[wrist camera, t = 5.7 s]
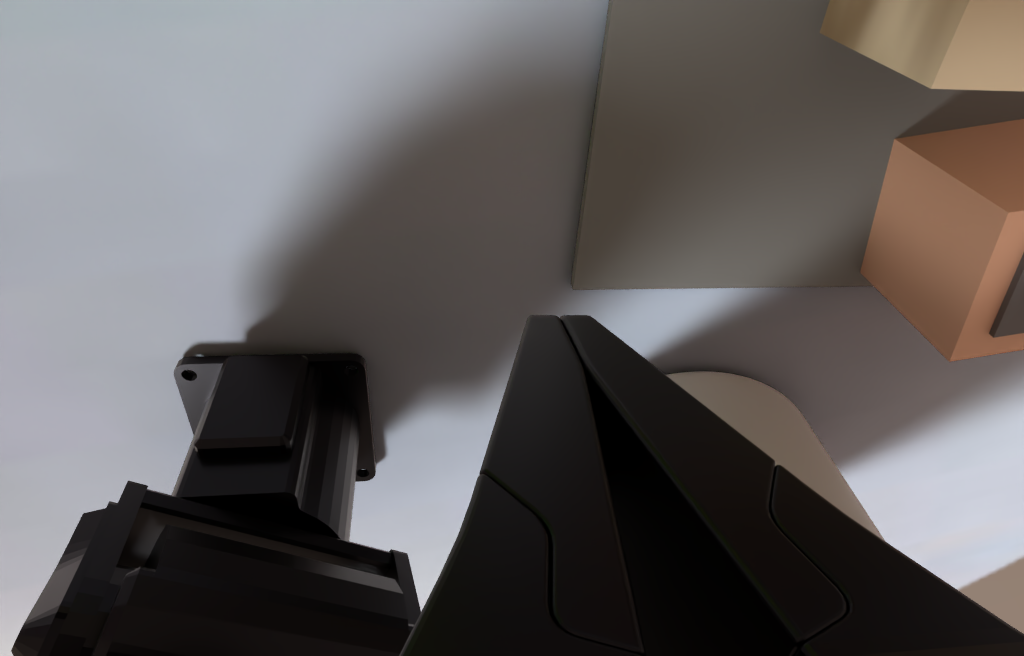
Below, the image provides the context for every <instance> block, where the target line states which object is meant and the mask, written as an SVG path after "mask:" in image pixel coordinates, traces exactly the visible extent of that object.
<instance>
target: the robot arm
mask: <svg viewBox="0 0 1024 656" xmlns="http://www.w3.org/2000/svg"><path fill="white" fill-rule="evenodd" d="M347 366H355V367H356V369H349V368H347ZM186 370H192V371H194V372H195V373H190V372H188V371H186ZM174 377H175V380H176V383H177V386H178V389H179V392H180V395H181V398H182V401H183V404H184V407H185V410H186V413H187V416H188V419H189V422H190V425H191V428H192V431H193V434H194V437H193V440H192V442H191V445H190V448H189V450H188V453H187V456H186V458H185V461H184V464H183V466H182V469H181V471H180V474H179V477H178V479H177V482H176V485H175V487H174V490H173V493H172V495H168V494H164V493H160V492H156V491H152V490H149V489H147V487H148V486H147V485H143V484H139V483H135V482H131V481H128V482H127V484H126V487H125V489H124V491H123V493H122V495H121V498H120V500H119V502H118V503H114V502H110V501H109V503H108V506H107V508H105V509H101V510H96V511H92V512H88V513H84V514H83V515H82V517H81V519H80V521H79V523H78V525H77V527H76V529H75V531H74V533H73V535H72V537H71V539H70V541H69V543H68V545H67V547H66V549H65V551H64V553H63V555H62V557H61V559H60V561H59V563H58V565H57V567H56V569H55V571H54V572H53V574H52V576H51V578H50V579H49V581H48V583H47V585H46V586H45V588H44V590H43V592H42V593H41V595H40V597H39V599H38V600H37V602H36V604H35V605H34V607H33V609H32V611H31V612H30V614H29V616H28V618H27V619H26V621H25V623H24V625H23V627H22V629H21V631H20V633H19V635H18V637H17V639H16V641H15V643H14V646H13V648H12V650H11V652H12V654H13V656H1024V634H1023V633H1021V632H1020V631H1018V630H1017V629H1015V628H1013V627H1012V626H1010V625H1009V624H1007V623H1006V622H1004V621H1003V620H1001V619H1000V618H998V617H997V616H995V615H994V614H992V613H991V612H989V611H988V610H986V609H985V608H983V607H982V606H980V605H979V604H977V603H976V602H974V601H973V600H971V599H970V598H968V597H967V596H965V595H964V594H962V593H961V592H960V591H958V590H957V589H955V588H954V587H952V586H951V585H949V584H948V583H946V582H945V581H943V580H942V579H940V578H939V577H937V576H936V575H934V574H933V573H931V572H930V571H928V570H927V569H925V568H924V567H922V566H921V565H919V564H918V563H916V562H915V561H913V560H912V559H910V558H909V557H907V556H906V555H904V554H903V553H901V552H900V551H898V550H897V549H895V548H894V547H892V546H891V545H890V544H888V543H887V542H885V541H884V540H882V539H881V538H879V537H878V536H877V535H875V534H874V533H872V532H871V531H869V530H868V529H866V528H865V527H864V526H862V525H861V524H859V523H858V522H856V521H855V520H854V519H852V518H851V517H849V516H848V515H846V514H845V513H844V512H842V511H841V510H840V509H838V508H837V507H836V506H834V505H833V504H832V503H830V502H829V501H828V500H826V499H825V498H824V497H822V496H821V495H820V494H818V493H817V492H816V491H814V490H813V489H812V488H810V487H809V486H808V485H806V484H805V483H804V482H802V481H801V480H800V479H799V478H797V477H796V476H795V475H793V474H792V473H791V472H790V471H788V470H787V469H786V468H784V467H783V466H782V465H776V462H775V460H774V459H773V458H771V457H770V456H769V455H768V454H766V453H765V452H764V451H762V450H761V449H760V448H759V447H757V446H756V445H755V444H753V443H752V442H751V441H750V440H748V439H747V438H746V437H744V436H743V435H742V434H741V433H739V432H738V431H737V430H736V429H734V428H733V427H732V426H730V425H729V424H728V423H727V422H725V421H724V420H723V419H721V418H720V417H719V416H718V415H716V414H715V413H714V412H713V411H711V410H710V409H709V408H707V407H706V406H705V405H704V404H702V403H701V402H700V401H698V400H697V399H696V398H695V397H693V396H692V395H691V394H689V393H688V392H687V391H686V390H684V389H683V388H682V387H681V386H679V385H678V384H677V383H675V382H674V381H673V380H672V379H670V378H669V377H668V376H666V375H665V374H664V373H663V372H661V371H660V370H659V369H658V368H656V367H655V366H654V365H652V364H651V363H650V362H649V361H647V360H646V359H645V358H643V357H642V356H641V355H640V354H638V353H637V352H636V351H634V350H633V349H632V348H631V347H629V346H628V345H627V344H626V343H624V342H623V341H622V340H620V339H619V338H618V337H617V336H615V335H614V334H613V333H611V332H610V331H609V330H608V329H606V328H605V327H604V326H603V325H601V324H600V323H599V322H597V321H596V320H595V319H594V318H592V317H590V316H587V315H564V316H562V317H560V319H559V317H557V316H555V315H531V316H529V317H528V319H527V321H526V325H525V328H524V331H523V334H522V338H521V341H520V344H519V347H518V350H517V354H516V357H515V360H514V363H513V367H512V370H511V373H510V376H509V380H508V383H507V386H506V389H505V392H504V396H503V399H502V402H501V405H500V409H499V412H498V415H497V418H496V422H495V425H494V428H493V431H492V435H491V438H490V441H489V444H488V447H487V451H486V454H485V457H484V460H483V464H482V467H481V470H480V476H479V477H478V479H477V482H476V485H475V488H474V491H473V495H472V498H471V501H470V504H469V507H468V509H467V512H466V515H465V518H464V521H463V523H462V526H461V529H460V532H459V534H458V537H457V539H456V541H455V543H454V545H453V548H452V550H451V552H450V554H449V556H448V559H447V561H446V563H445V565H444V567H443V570H442V572H441V574H440V576H439V578H438V580H437V582H436V584H435V586H434V588H433V590H432V592H431V594H430V596H429V598H428V600H427V602H426V604H425V606H424V608H423V610H422V612H421V611H420V606H419V602H418V598H417V593H416V589H415V585H414V580H413V576H412V572H411V567H410V563H409V559H408V555H407V553H403V552H399V551H396V550H390V551H389V552H388V551H384V550H380V549H376V548H372V547H369V546H365V545H361V544H357V543H353V542H349V538H350V528H351V519H352V509H353V499H354V489H355V482H356V481H368V480H370V479H372V478H373V477H374V476H375V472H376V460H375V449H374V439H373V429H372V419H371V408H370V398H369V388H368V378H367V367H366V362H365V359H364V358H363V357H362V356H360V355H358V354H354V353H337V354H294V355H251V356H208V357H186V358H183V359H181V360H179V362H178V364H177V366H176V368H175V370H174ZM775 465H776V466H775ZM362 469H365V470H362Z"/></svg>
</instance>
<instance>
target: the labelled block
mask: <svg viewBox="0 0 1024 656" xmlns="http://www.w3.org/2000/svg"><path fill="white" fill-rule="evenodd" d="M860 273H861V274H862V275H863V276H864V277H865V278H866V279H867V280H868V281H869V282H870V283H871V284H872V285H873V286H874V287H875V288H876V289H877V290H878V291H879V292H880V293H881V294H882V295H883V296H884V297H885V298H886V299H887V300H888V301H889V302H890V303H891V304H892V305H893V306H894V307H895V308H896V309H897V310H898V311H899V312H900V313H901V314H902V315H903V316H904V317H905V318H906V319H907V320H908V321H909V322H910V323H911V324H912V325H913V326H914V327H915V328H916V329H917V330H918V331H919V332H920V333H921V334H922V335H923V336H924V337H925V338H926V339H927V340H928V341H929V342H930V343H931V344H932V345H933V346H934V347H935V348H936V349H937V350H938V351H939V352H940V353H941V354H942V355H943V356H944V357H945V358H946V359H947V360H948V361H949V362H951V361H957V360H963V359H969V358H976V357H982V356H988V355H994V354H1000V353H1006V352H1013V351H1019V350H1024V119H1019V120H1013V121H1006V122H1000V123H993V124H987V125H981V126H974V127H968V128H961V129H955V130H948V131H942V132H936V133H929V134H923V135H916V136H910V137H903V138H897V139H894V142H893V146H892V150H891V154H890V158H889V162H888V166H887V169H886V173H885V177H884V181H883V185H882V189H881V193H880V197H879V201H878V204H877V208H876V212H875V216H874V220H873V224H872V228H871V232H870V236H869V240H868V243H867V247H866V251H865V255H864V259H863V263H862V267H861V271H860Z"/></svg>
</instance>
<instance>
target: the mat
mask: <svg viewBox="0 0 1024 656" xmlns="http://www.w3.org/2000/svg"><path fill="white" fill-rule="evenodd" d="M829 2H830V0H609V5H608V13H607V20H606V27H605V35H604V42H603V50H602V57H601V64H600V72H599V79H598V86H597V94H596V101H595V108H594V116H593V123H592V130H591V138H590V145H589V153H588V160H587V167H586V175H585V182H584V189H583V197H582V204H581V211H580V219H579V226H578V233H577V241H576V248H575V256H574V263H573V270H572V278H571V286H572V289H573V290H597V289H681V288H765V287H849V286H873V285H872V284H871V283H870V282H869V281H868V280H867V279H866V278H865V277H864V276H863V275H862V274H861V273H860V271H861V267H862V263H863V259H864V255H865V251H866V247H867V243H868V240H869V236H870V232H871V228H872V224H873V220H874V216H875V212H876V208H877V204H878V201H879V197H880V193H881V189H882V185H883V181H884V177H885V173H886V169H887V166H888V162H889V158H890V154H891V150H892V146H893V142H894V139H897V138H903V137H910V136H916V135H923V134H929V133H936V132H942V131H948V130H955V129H961V128H968V127H974V126H981V125H987V124H993V123H1000V122H1006V121H1013V120H1019V119H1024V91H990V90H956V89H930V88H928V87H926V86H924V85H922V84H920V83H918V82H916V81H914V80H912V79H910V78H908V77H906V76H904V75H902V74H900V73H898V72H896V71H894V70H892V69H890V68H888V67H886V66H884V65H882V64H880V63H878V62H876V61H874V60H872V59H870V58H868V57H866V56H864V55H862V54H860V53H858V52H856V51H855V50H853V49H851V48H849V47H847V46H845V45H843V44H841V43H839V42H837V41H835V40H833V39H831V38H829V37H827V36H825V35H823V34H821V33H820V30H821V27H822V23H823V20H824V17H825V14H826V11H827V8H828V5H829Z"/></svg>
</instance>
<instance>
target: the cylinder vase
mask: <svg viewBox="0 0 1024 656" xmlns="http://www.w3.org/2000/svg"><path fill="white" fill-rule="evenodd" d="M666 376H668V377H669V378H670V379H672V380H673V381H674V382H675V383H677V384H678V385H679V386H681V387H682V388H683V389H684V390H686V391H687V392H688V393H689V394H691V395H692V396H693V397H695V398H696V399H697V400H698V401H700V402H701V403H702V404H704V405H705V406H706V407H707V408H709V409H710V410H711V411H713V412H714V413H715V414H716V415H718V416H719V417H720V418H721V419H723V420H724V421H725V422H727V423H728V424H729V425H730V426H732V427H733V428H734V429H736V430H737V431H738V432H739V433H741V434H742V435H743V436H744V437H746V438H747V439H748V440H750V441H751V442H752V443H753V444H755V445H756V446H757V447H759V448H760V449H761V450H762V451H764V452H765V453H766V454H768V455H769V456H770V457H771V458H773V459H774V460H775V462H776V465H782V466H783V467H784V468H786V469H787V470H788V471H790V472H791V473H792V474H793V475H795V476H796V477H797V478H799V479H800V480H801V481H802V482H804V483H805V484H806V485H808V486H809V487H810V488H812V489H813V490H814V491H816V492H817V493H818V494H820V495H821V496H822V497H824V498H825V499H826V500H828V501H829V502H830V503H832V504H833V505H834V506H836V507H837V508H838V509H840V510H841V511H842V512H844V513H845V514H846V515H848V516H849V517H851V518H852V519H854V520H855V521H856V522H858V523H859V524H861V525H862V526H864V527H865V528H866V529H868V530H869V531H871V532H872V533H874V534H875V535H877V536H878V537H879V538H881V539H882V540H884V539H883V537H882V536H881V534H880V532H879V531H878V529H877V528H876V526H875V525H874V523H873V522H872V520H871V519H870V517H869V516H868V514H867V513H866V511H865V510H864V508H863V507H862V505H861V503H860V502H859V500H858V499H857V497H856V496H855V494H854V493H853V491H852V490H851V488H850V487H849V485H848V484H847V482H846V481H845V479H844V478H843V476H842V475H841V473H840V471H839V470H838V468H837V467H836V465H835V464H834V462H833V461H832V459H831V458H830V456H829V455H828V453H827V452H826V450H825V449H824V447H823V446H822V444H821V442H820V441H819V439H818V438H817V436H816V435H815V433H814V432H813V430H812V429H811V427H810V426H809V424H808V423H807V421H806V420H805V418H804V417H803V415H802V414H801V412H800V411H799V410H798V408H797V407H796V406H795V405H794V404H793V403H792V402H791V401H790V400H789V399H788V398H787V397H785V396H784V395H783V394H781V393H780V392H778V391H777V390H775V389H774V388H772V387H770V386H768V385H766V384H764V383H762V382H759V381H757V380H754V379H751V378H748V377H744V376H740V375H735V374H730V373H723V372H710V371H697V372H682V373H674V374H668V375H666ZM776 465H775V466H776ZM884 541H885V540H884Z"/></svg>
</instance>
